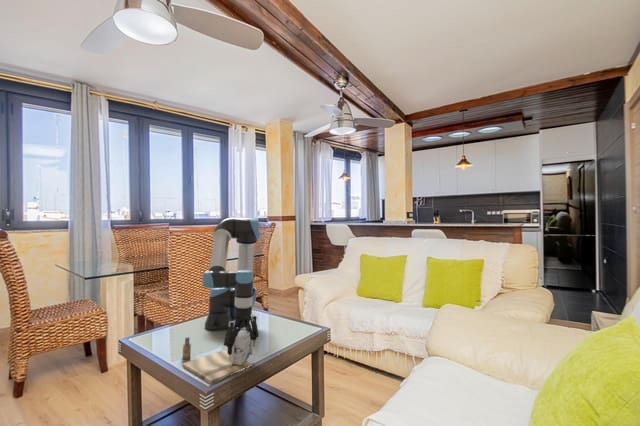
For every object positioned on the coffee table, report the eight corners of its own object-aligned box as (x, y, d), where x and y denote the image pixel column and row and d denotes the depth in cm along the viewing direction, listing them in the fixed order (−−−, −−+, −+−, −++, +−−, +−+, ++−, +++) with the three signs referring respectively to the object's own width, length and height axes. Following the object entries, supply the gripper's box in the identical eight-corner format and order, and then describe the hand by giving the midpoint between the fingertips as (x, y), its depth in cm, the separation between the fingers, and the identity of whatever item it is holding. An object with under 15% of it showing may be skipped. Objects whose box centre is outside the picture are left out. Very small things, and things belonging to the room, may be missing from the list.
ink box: (239, 355, 144) (241, 329, 145) (250, 357, 143) (251, 330, 144) (230, 363, 136) (232, 336, 136) (241, 365, 135) (243, 337, 135)
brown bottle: (188, 355, 146) (189, 336, 146) (191, 358, 144) (192, 337, 144) (181, 358, 143) (182, 337, 144) (184, 360, 141) (185, 339, 141)
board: (223, 352, 151) (224, 349, 151) (252, 366, 138) (252, 363, 138) (182, 366, 136) (183, 363, 136) (210, 383, 122) (210, 380, 122)
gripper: (257, 300, 151) (255, 348, 151) (216, 309, 134) (213, 363, 134) (268, 303, 146) (266, 352, 146) (226, 312, 129) (223, 369, 129)
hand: (240, 357), depth 140 cm, fingers closed on ink box, 9 cm apart
